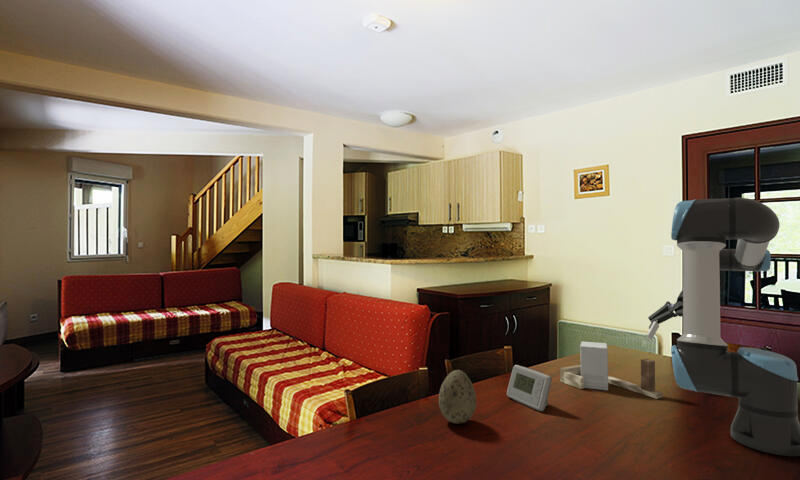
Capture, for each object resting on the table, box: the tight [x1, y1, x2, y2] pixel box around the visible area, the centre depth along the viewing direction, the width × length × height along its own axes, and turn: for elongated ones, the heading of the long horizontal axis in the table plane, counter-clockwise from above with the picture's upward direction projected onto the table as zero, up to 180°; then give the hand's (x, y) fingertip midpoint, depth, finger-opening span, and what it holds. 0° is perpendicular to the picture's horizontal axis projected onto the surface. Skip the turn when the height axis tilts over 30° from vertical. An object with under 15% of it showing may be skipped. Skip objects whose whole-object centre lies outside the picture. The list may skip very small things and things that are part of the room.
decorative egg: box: [438, 369, 477, 425], centre depth 125 cm, size 11×11×15 cm
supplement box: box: [579, 341, 609, 391], centre depth 157 cm, size 9×9×15 cm
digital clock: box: [506, 364, 552, 412], centre depth 140 cm, size 16×9×11 cm, turn 17°
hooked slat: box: [559, 358, 663, 400], centre depth 153 cm, size 28×18×12 cm, turn 26°
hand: (667, 341), depth 153 cm, fingers open, 13 cm apart
